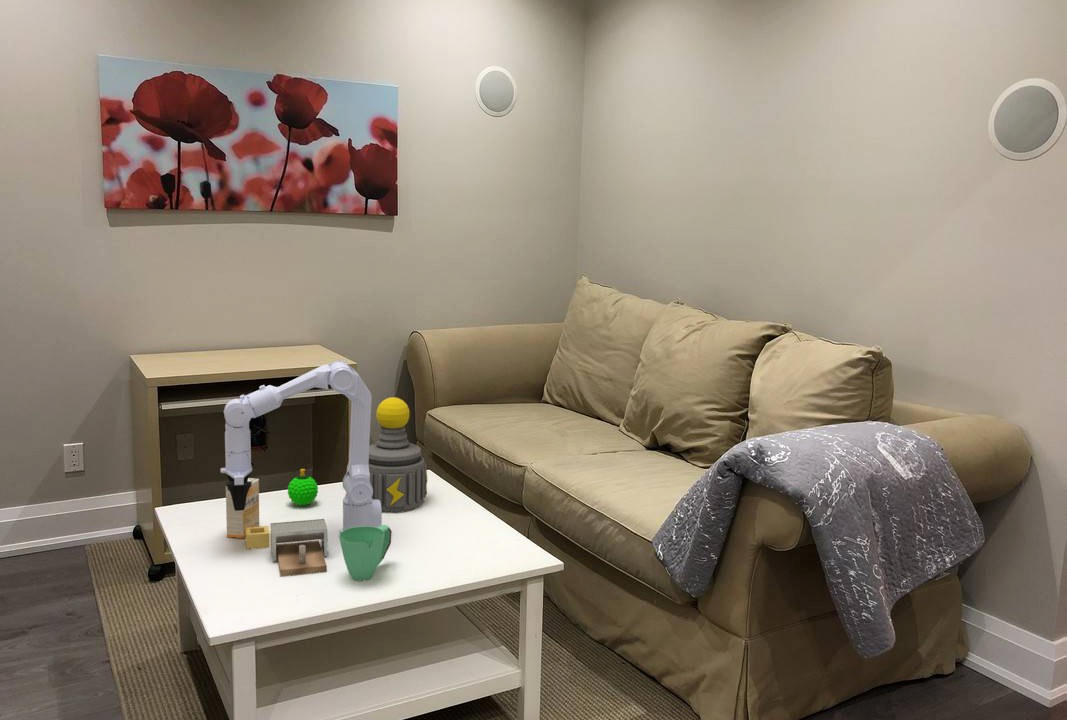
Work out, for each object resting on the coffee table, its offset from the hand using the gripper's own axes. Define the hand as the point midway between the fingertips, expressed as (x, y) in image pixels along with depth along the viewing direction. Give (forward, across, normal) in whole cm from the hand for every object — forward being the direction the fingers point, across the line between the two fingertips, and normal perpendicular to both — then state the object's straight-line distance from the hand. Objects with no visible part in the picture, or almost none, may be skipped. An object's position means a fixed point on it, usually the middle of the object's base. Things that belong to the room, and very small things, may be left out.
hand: (239, 505), depth 211 cm
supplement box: (+10, -9, +1) cm, 14 cm away
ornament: (+10, -27, +17) cm, 34 cm away
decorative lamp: (+10, -23, +41) cm, 48 cm away
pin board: (+10, +13, +13) cm, 21 cm away
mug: (+10, +24, +27) cm, 38 cm away
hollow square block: (+10, 0, +4) cm, 11 cm away
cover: (+10, +9, +13) cm, 19 cm away
